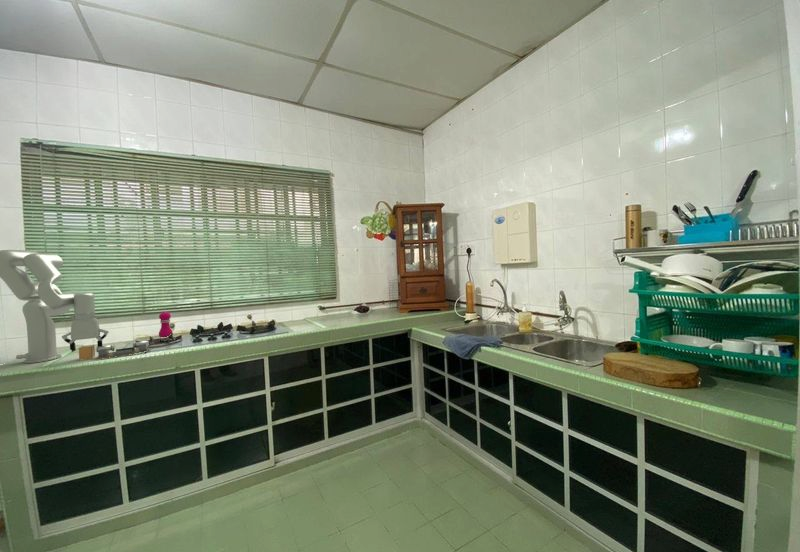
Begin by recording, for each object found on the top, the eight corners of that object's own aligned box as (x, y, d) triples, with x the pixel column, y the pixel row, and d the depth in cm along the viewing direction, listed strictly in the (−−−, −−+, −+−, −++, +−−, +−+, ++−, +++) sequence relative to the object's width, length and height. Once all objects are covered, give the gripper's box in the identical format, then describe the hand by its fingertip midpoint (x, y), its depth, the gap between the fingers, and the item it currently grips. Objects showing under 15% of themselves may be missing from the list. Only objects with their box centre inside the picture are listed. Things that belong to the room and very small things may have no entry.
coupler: (91, 358, 157) (91, 347, 157) (78, 360, 155) (78, 348, 155) (95, 356, 162) (94, 344, 162) (82, 357, 160) (82, 346, 160)
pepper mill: (168, 341, 192) (166, 310, 192) (156, 342, 192) (154, 310, 191) (175, 339, 199) (174, 308, 199) (164, 339, 199) (162, 309, 198)
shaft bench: (94, 360, 154) (94, 347, 154) (100, 355, 162) (99, 344, 162) (147, 353, 165) (147, 341, 165) (150, 349, 174) (149, 338, 174)
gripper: (58, 319, 150) (60, 354, 150) (105, 315, 160) (107, 348, 160) (63, 317, 156) (65, 350, 157) (109, 314, 166) (111, 345, 166)
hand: (86, 349), depth 158 cm, fingers open, 9 cm apart
